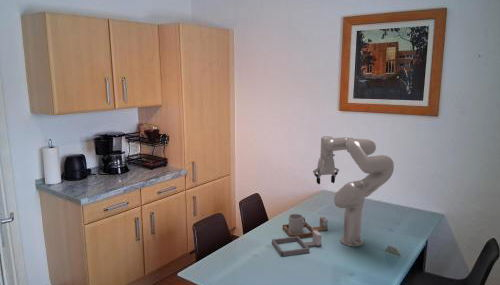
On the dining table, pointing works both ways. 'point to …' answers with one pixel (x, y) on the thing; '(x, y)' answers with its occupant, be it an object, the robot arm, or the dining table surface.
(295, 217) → the mug
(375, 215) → the dining table surface
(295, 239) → the grey frame with handle
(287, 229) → the brown frame with handle
